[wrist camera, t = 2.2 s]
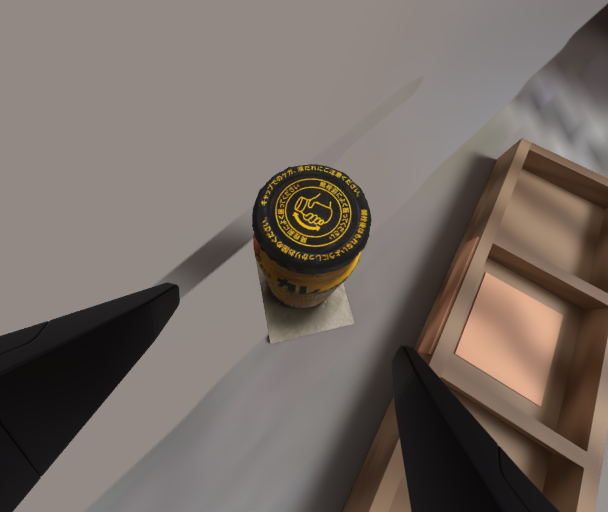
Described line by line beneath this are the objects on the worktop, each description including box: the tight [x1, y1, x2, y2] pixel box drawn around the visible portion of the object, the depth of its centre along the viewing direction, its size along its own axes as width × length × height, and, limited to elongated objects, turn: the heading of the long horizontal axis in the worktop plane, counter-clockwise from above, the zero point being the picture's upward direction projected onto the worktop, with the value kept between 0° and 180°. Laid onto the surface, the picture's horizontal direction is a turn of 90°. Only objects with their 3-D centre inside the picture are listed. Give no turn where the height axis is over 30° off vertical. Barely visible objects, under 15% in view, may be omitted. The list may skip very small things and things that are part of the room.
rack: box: [342, 138, 608, 512], centre depth 19 cm, size 37×12×3 cm, turn 147°
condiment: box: [252, 165, 371, 344], centre depth 15 cm, size 7×8×12 cm
